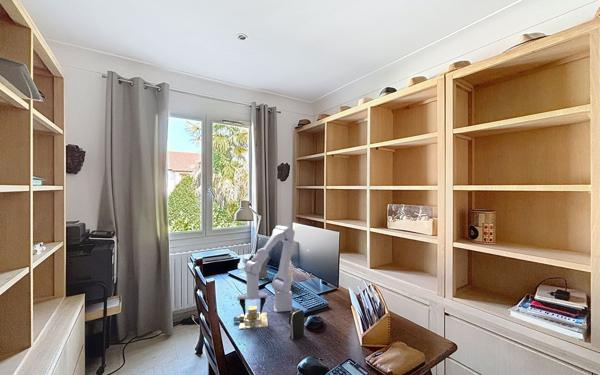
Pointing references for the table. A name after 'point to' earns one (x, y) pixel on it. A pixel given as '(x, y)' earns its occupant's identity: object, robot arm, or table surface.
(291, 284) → the ink cartridge box
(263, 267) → the coffeepot
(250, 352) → the table surface
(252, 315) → the coupling block
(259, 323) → the cream square socket base
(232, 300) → the table surface
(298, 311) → the battery charger
